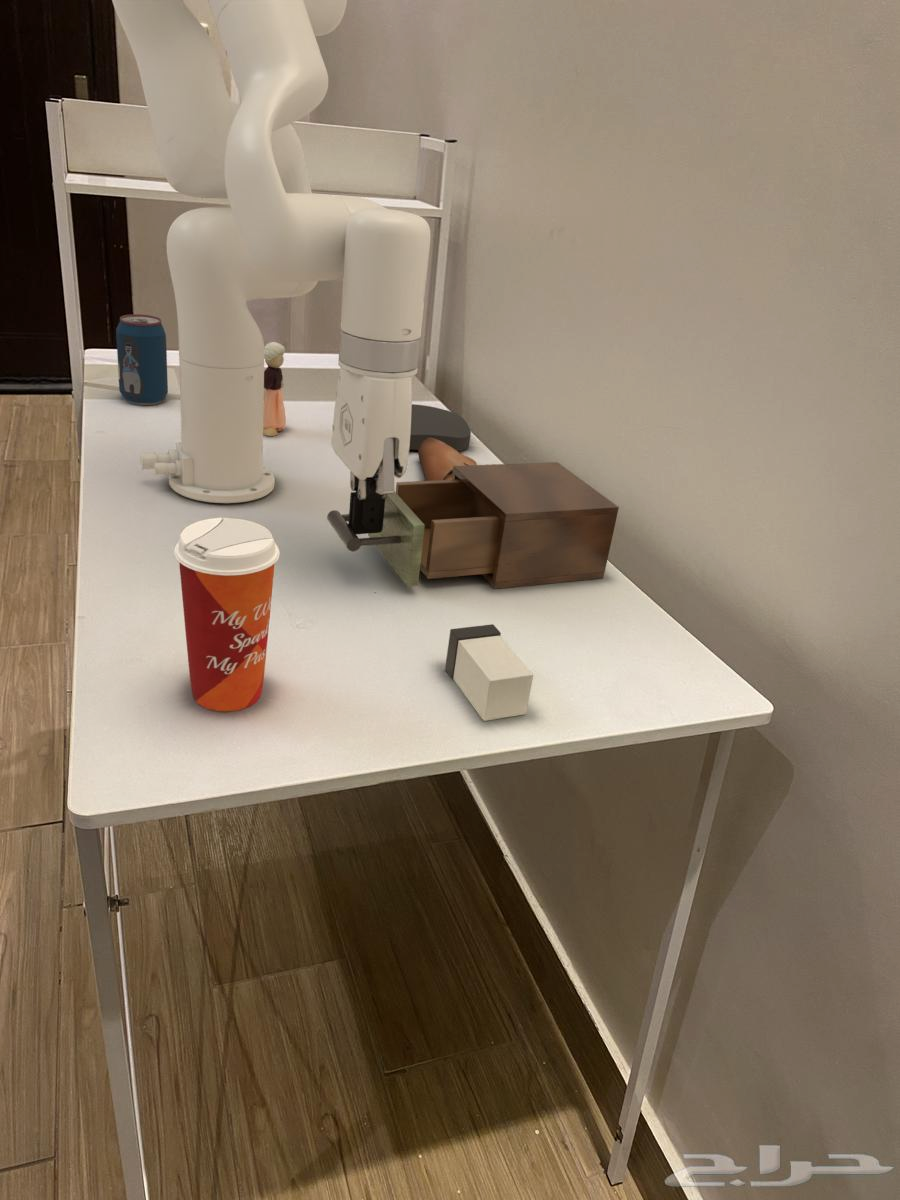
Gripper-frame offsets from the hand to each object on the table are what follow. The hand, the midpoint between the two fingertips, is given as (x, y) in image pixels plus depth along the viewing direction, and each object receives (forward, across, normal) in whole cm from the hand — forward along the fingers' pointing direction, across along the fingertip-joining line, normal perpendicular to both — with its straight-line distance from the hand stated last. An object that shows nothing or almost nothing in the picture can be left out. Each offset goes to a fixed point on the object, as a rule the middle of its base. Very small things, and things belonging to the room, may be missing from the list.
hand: (365, 530), depth 94 cm
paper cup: (+5, +19, -18) cm, 26 cm away
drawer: (+4, 0, +6) cm, 7 cm away
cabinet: (+5, 0, +19) cm, 20 cm away
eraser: (+5, +24, +3) cm, 25 cm away
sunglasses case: (+5, -21, +20) cm, 29 cm away
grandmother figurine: (+5, -45, +2) cm, 45 cm away
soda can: (+5, -60, -14) cm, 62 cm away
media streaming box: (+5, -41, +23) cm, 47 cm away
